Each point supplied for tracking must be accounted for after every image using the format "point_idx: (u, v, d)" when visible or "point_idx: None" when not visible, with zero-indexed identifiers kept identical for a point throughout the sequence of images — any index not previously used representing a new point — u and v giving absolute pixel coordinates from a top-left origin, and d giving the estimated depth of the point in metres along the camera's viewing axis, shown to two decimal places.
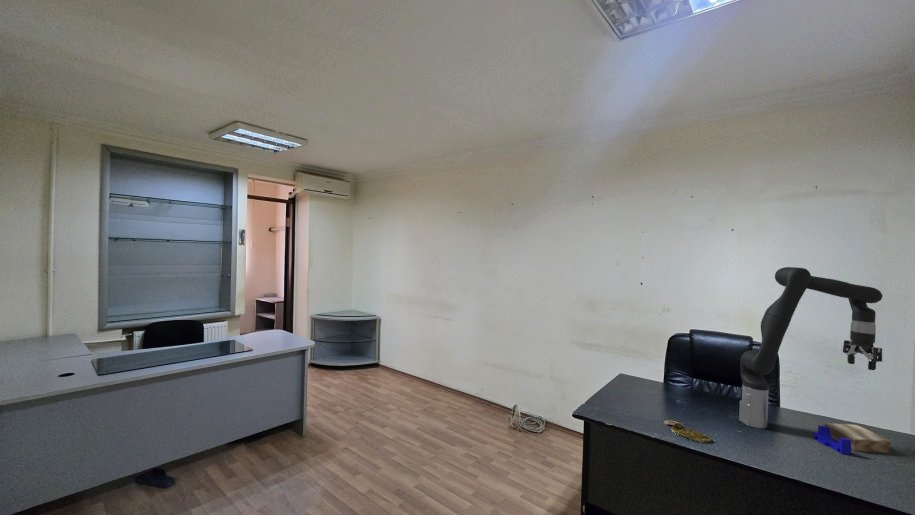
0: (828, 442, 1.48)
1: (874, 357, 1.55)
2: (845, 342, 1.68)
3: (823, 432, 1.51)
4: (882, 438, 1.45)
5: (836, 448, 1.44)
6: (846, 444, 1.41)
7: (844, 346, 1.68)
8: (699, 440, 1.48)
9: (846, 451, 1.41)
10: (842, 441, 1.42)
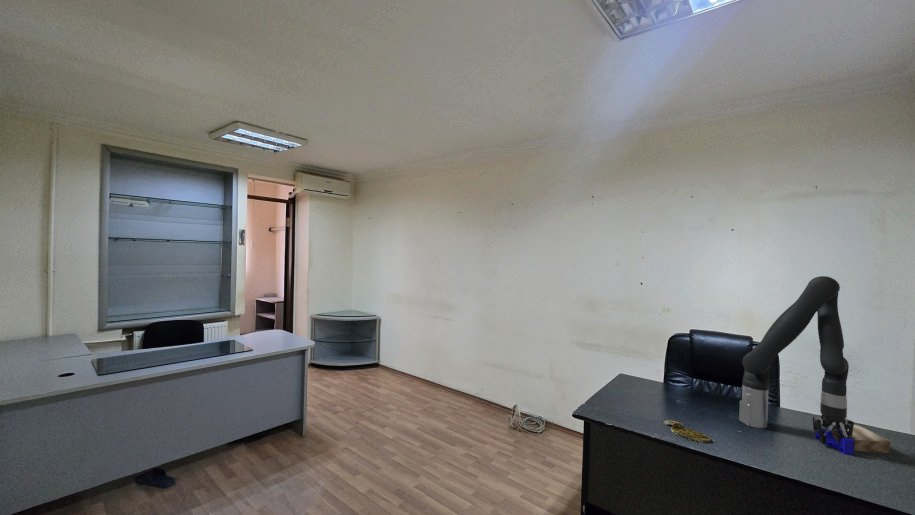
0: (830, 442, 1.48)
1: (850, 431, 1.46)
2: (819, 422, 1.47)
3: None
4: (882, 438, 1.45)
5: (839, 448, 1.44)
6: (849, 444, 1.41)
7: (819, 426, 1.47)
8: (698, 440, 1.49)
9: (849, 451, 1.41)
10: (845, 441, 1.42)
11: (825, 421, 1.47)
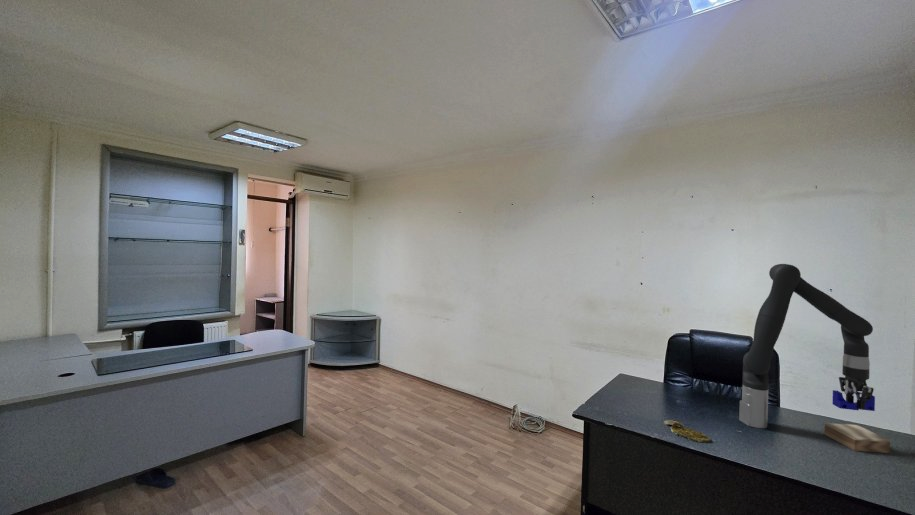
0: (854, 405, 1.49)
1: None
2: None
3: None
4: (882, 438, 1.45)
5: (866, 407, 1.48)
6: None
7: None
8: (697, 439, 1.49)
9: None
10: (874, 398, 1.47)
11: None
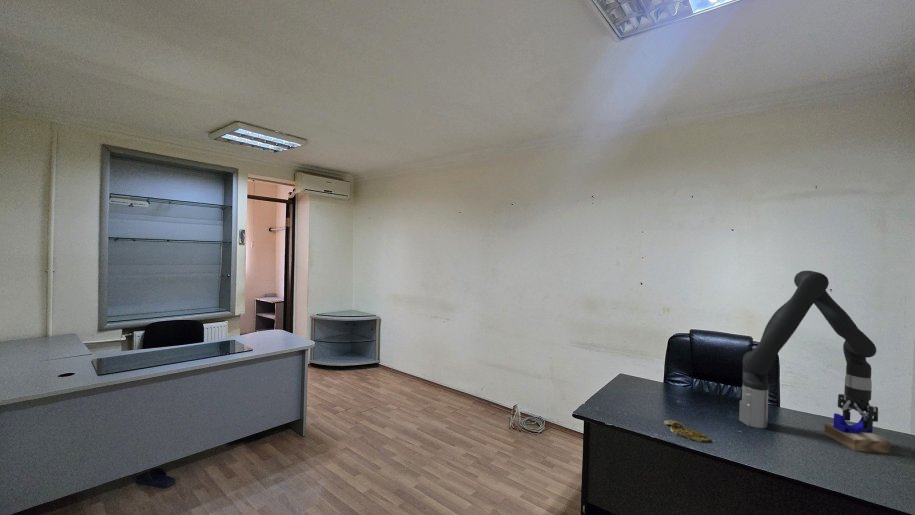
0: (854, 428, 1.50)
1: None
2: None
3: None
4: (882, 438, 1.45)
5: None
6: None
7: None
8: (697, 439, 1.49)
9: None
10: None
11: None
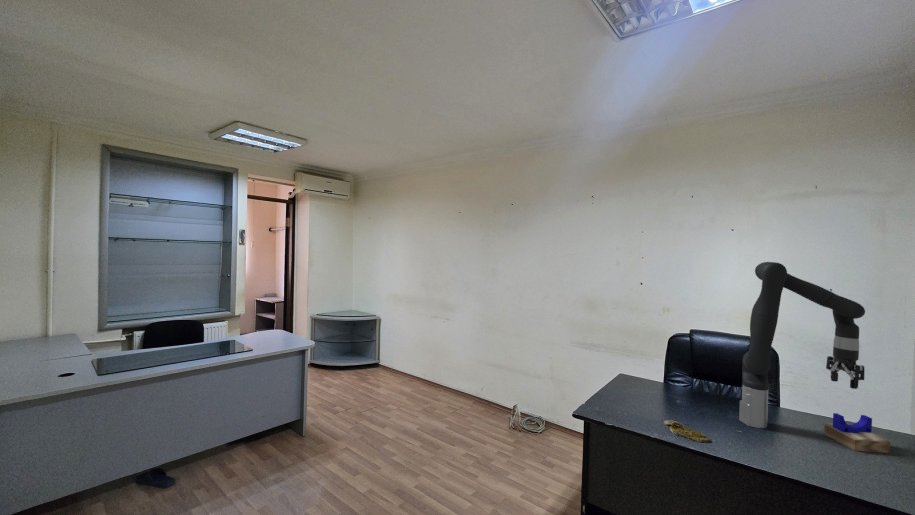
0: (854, 427, 1.50)
1: None
2: None
3: None
4: (882, 438, 1.45)
5: (864, 429, 1.50)
6: None
7: None
8: (696, 439, 1.49)
9: None
10: None
11: None
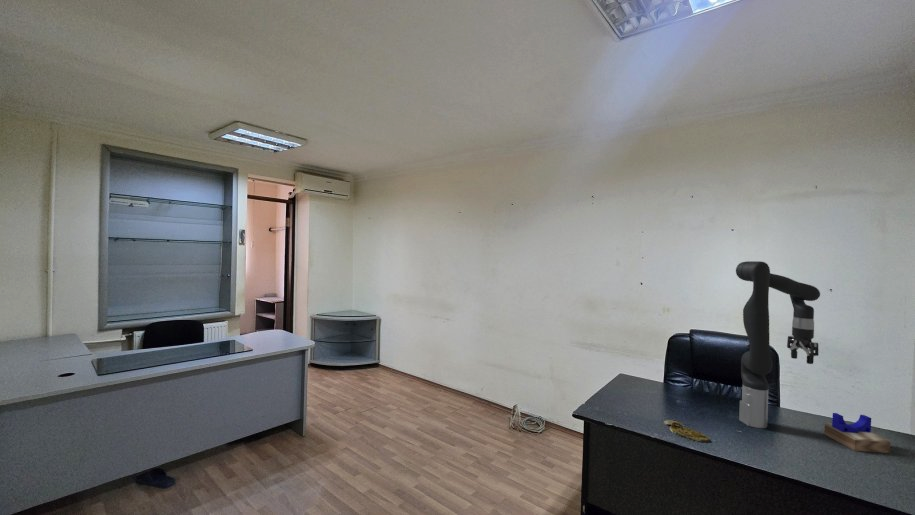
0: (853, 427, 1.51)
1: None
2: None
3: None
4: (882, 438, 1.45)
5: (864, 429, 1.50)
6: None
7: None
8: (696, 439, 1.49)
9: None
10: None
11: None
